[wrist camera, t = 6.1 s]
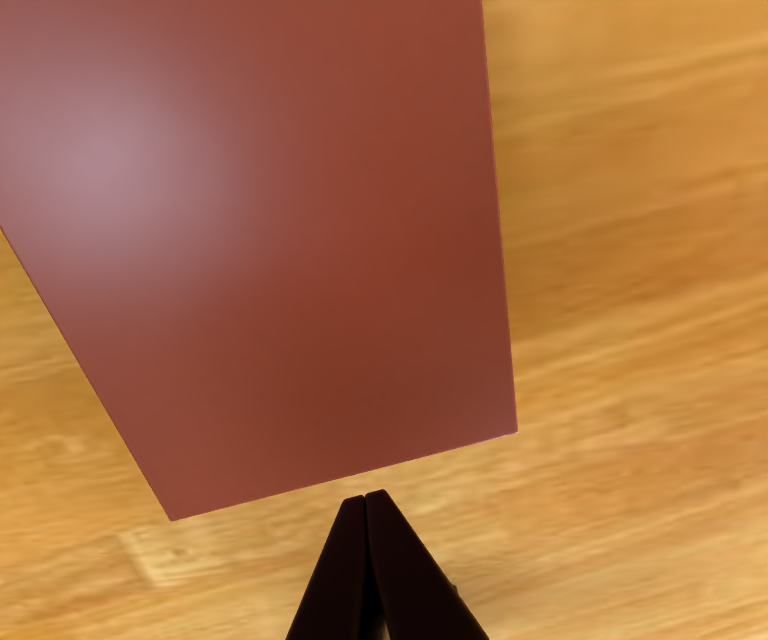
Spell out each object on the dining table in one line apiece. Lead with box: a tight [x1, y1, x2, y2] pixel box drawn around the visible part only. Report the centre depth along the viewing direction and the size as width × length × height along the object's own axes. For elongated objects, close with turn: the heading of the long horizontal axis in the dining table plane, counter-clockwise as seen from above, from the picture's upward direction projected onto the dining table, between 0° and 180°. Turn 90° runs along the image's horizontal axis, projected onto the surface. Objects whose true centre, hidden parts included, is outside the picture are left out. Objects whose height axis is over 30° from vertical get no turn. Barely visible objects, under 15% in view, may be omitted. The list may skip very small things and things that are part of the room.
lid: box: [0, 0, 518, 521], centre depth 11 cm, size 16×13×1 cm
